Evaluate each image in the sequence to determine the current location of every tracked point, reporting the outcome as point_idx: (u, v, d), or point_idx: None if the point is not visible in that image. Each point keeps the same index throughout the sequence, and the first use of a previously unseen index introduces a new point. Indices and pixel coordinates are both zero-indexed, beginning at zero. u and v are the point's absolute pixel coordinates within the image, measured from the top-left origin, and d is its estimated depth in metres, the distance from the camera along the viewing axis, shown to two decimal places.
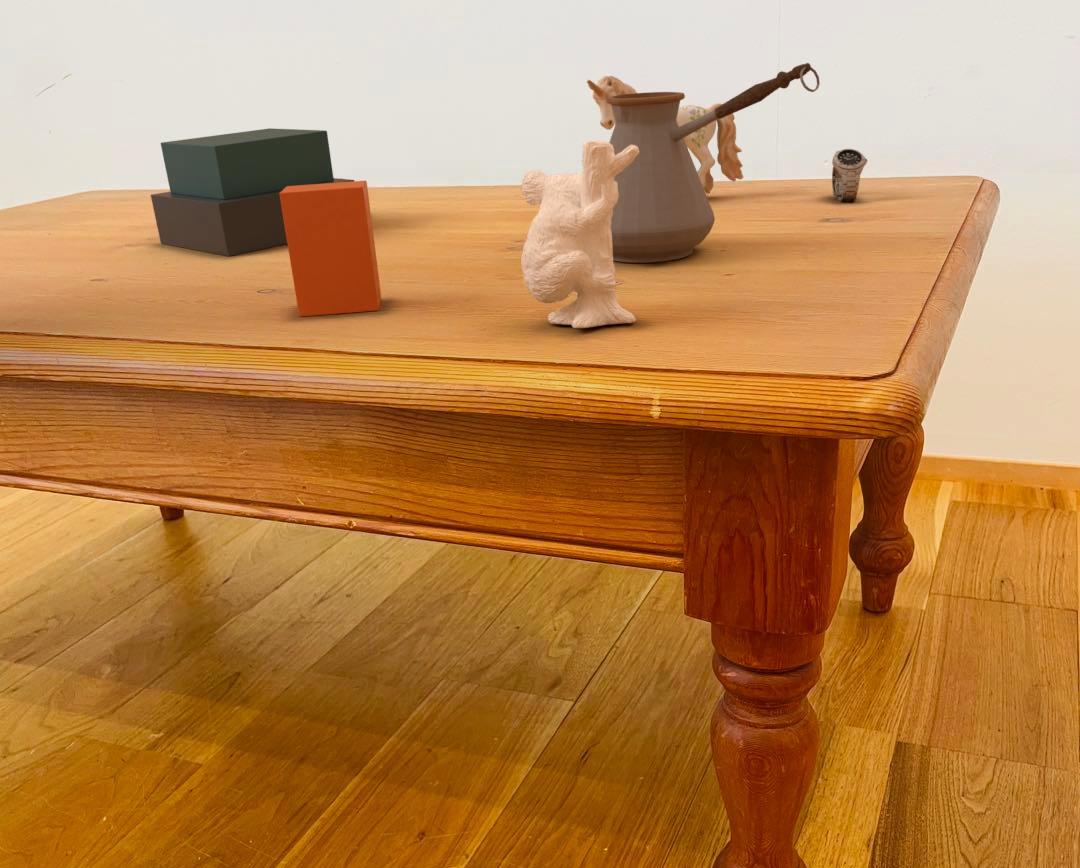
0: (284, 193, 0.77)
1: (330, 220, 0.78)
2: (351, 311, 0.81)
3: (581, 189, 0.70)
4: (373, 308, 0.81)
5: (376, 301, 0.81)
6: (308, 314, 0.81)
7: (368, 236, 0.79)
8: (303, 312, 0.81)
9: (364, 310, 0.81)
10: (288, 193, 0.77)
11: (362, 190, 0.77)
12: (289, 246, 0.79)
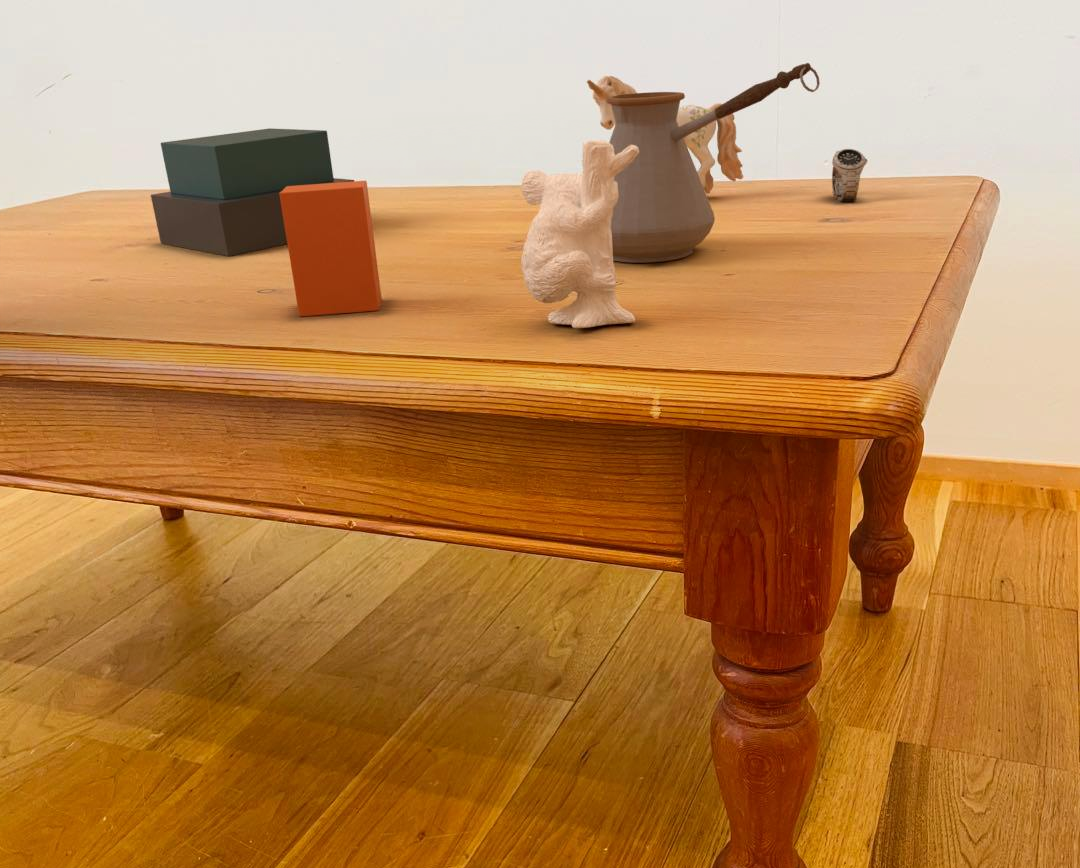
0: (284, 193, 0.77)
1: (330, 220, 0.78)
2: (351, 311, 0.81)
3: (581, 189, 0.70)
4: (373, 308, 0.81)
5: (376, 301, 0.81)
6: (308, 314, 0.81)
7: (368, 236, 0.79)
8: (303, 312, 0.81)
9: (364, 310, 0.81)
10: (288, 193, 0.77)
11: (362, 190, 0.77)
12: (289, 246, 0.79)
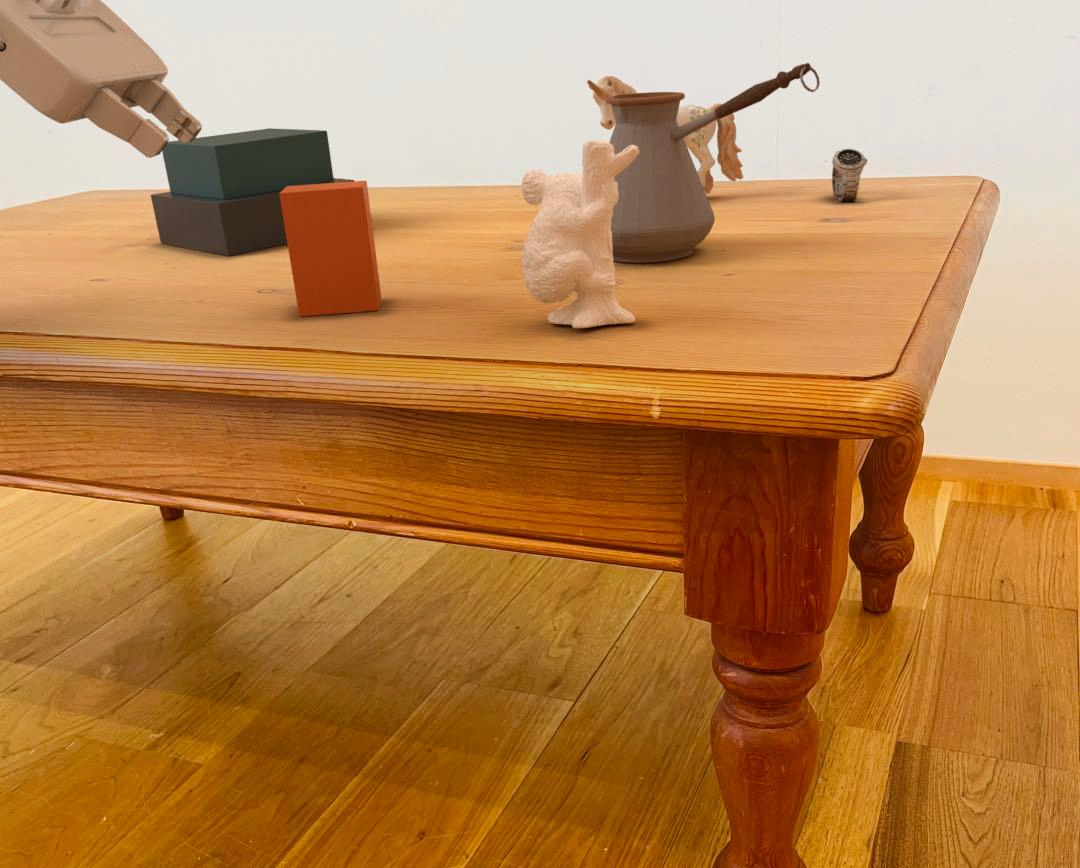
0: (284, 193, 0.77)
1: (330, 220, 0.78)
2: (351, 311, 0.81)
3: (581, 189, 0.70)
4: (373, 308, 0.81)
5: (376, 301, 0.81)
6: (308, 314, 0.81)
7: (368, 236, 0.79)
8: (303, 312, 0.81)
9: (364, 310, 0.81)
10: (288, 193, 0.77)
11: (362, 190, 0.77)
12: (289, 246, 0.79)
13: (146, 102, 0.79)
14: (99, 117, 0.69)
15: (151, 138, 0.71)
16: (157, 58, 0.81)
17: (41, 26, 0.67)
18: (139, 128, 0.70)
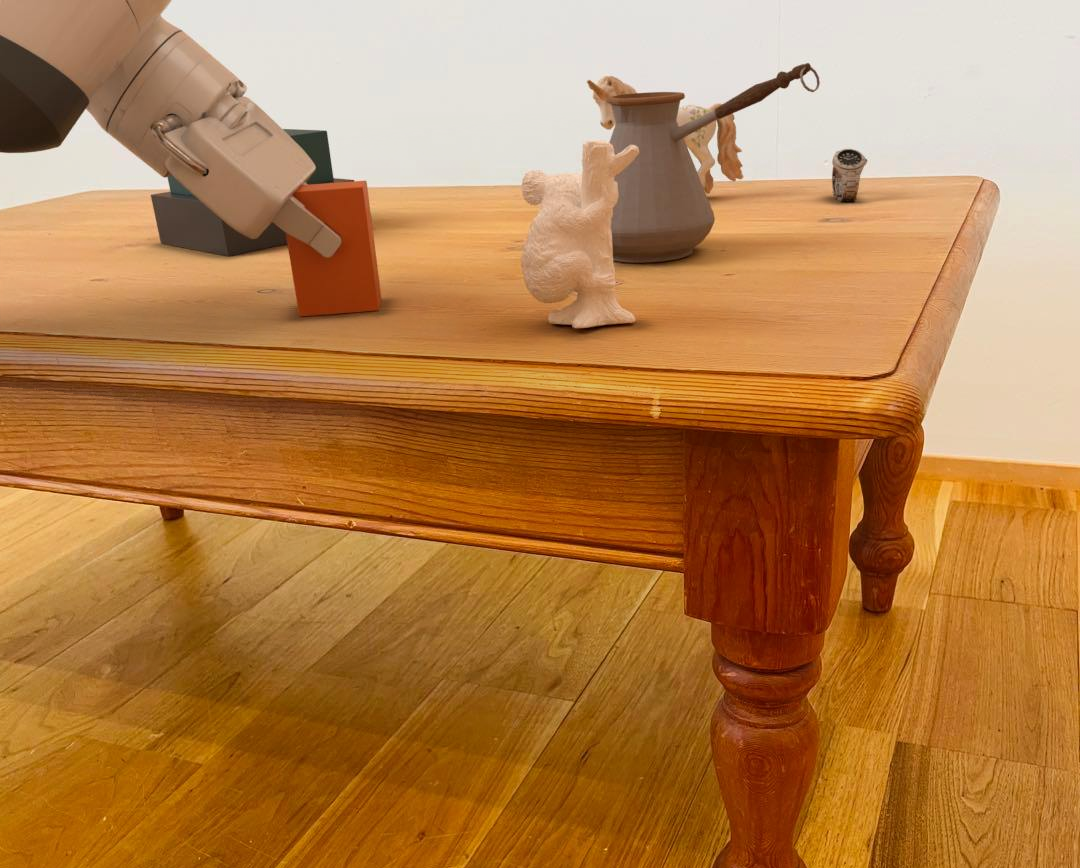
0: None
1: (330, 220, 0.78)
2: (351, 311, 0.81)
3: (581, 189, 0.70)
4: (373, 308, 0.81)
5: (376, 301, 0.81)
6: (308, 314, 0.81)
7: (368, 236, 0.79)
8: (303, 312, 0.81)
9: (364, 310, 0.81)
10: None
11: (362, 190, 0.77)
12: (289, 246, 0.79)
13: None
14: (286, 224, 0.76)
15: (330, 240, 0.77)
16: (307, 157, 0.86)
17: (231, 147, 0.72)
18: (320, 232, 0.77)
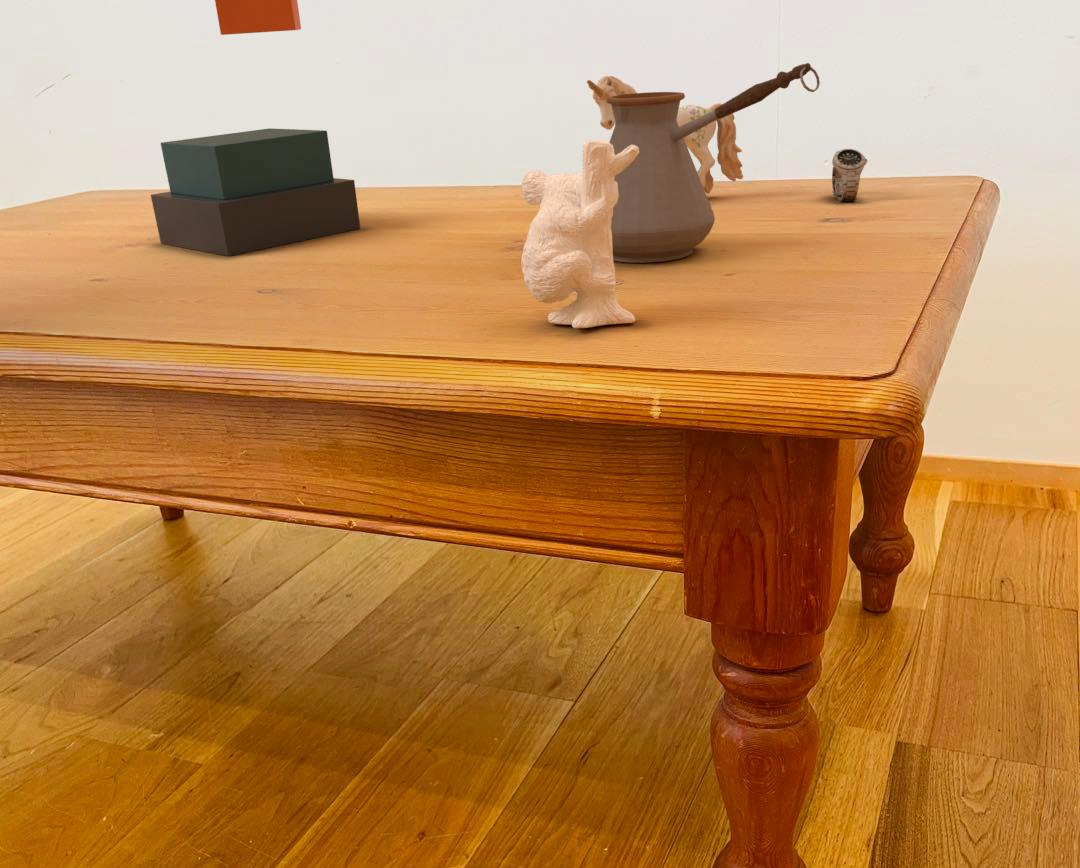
0: None
1: None
2: (269, 30, 0.86)
3: (581, 189, 0.70)
4: (290, 27, 0.86)
5: (293, 20, 0.86)
6: (229, 32, 0.86)
7: None
8: (224, 30, 0.86)
9: (282, 29, 0.87)
10: None
11: None
12: None
13: None
14: None
15: None
16: None
17: None
18: None
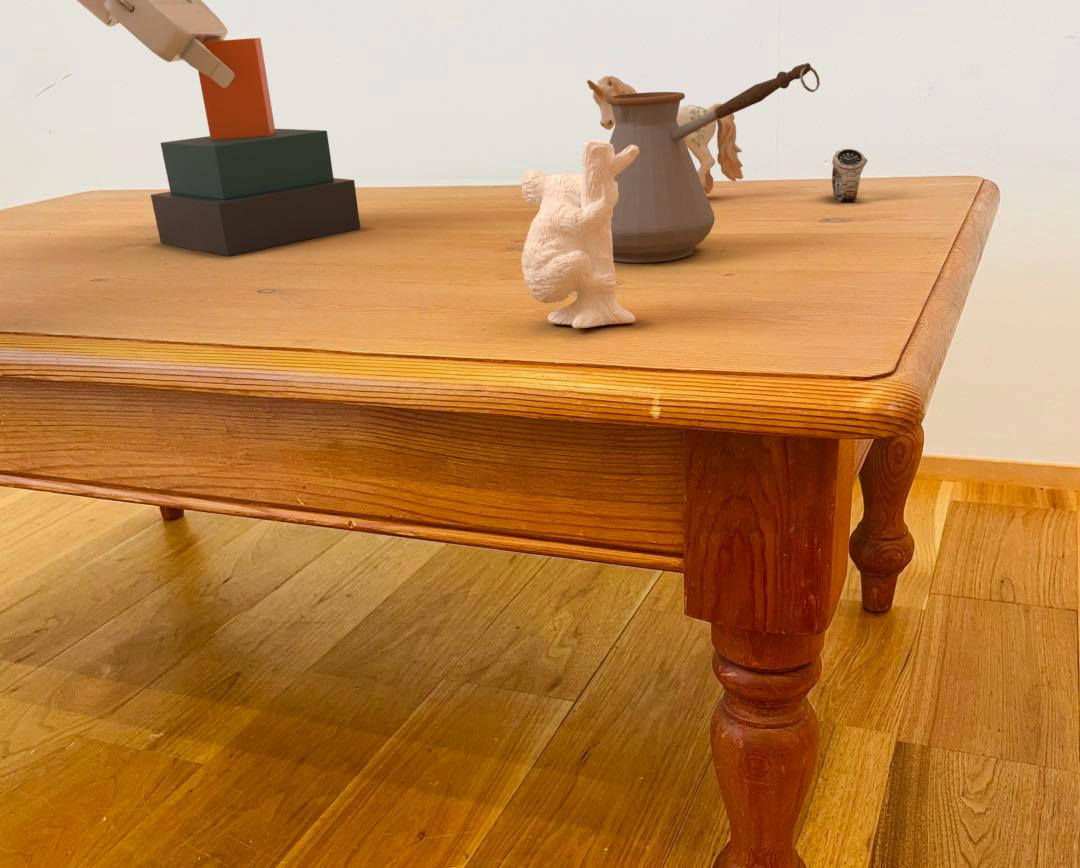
0: None
1: (231, 64, 1.06)
2: (249, 136, 1.09)
3: (581, 189, 0.70)
4: (266, 134, 1.09)
5: (268, 128, 1.08)
6: (217, 138, 1.09)
7: (260, 77, 1.06)
8: (213, 136, 1.08)
9: (259, 135, 1.09)
10: None
11: (254, 41, 1.05)
12: (201, 84, 1.06)
13: None
14: (191, 59, 1.01)
15: (225, 74, 1.03)
16: (220, 22, 1.13)
17: None
18: (217, 67, 1.02)
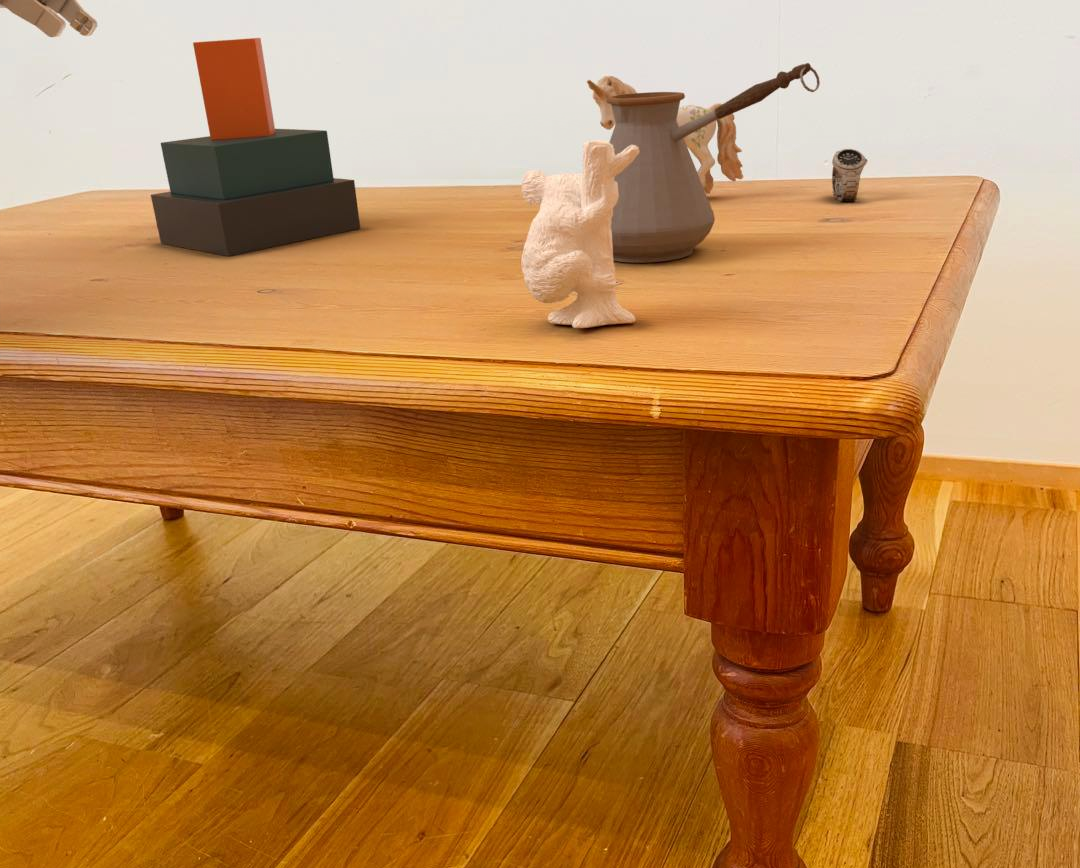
0: (196, 42, 1.05)
1: (231, 64, 1.06)
2: (249, 136, 1.09)
3: (581, 189, 0.70)
4: (266, 134, 1.09)
5: (268, 128, 1.08)
6: (217, 138, 1.09)
7: (260, 77, 1.06)
8: (213, 136, 1.08)
9: (259, 135, 1.09)
10: (199, 42, 1.05)
11: (254, 41, 1.05)
12: (201, 84, 1.06)
13: (54, 5, 1.07)
14: (12, 5, 0.96)
15: (51, 22, 0.98)
16: None
17: None
18: (42, 15, 0.98)
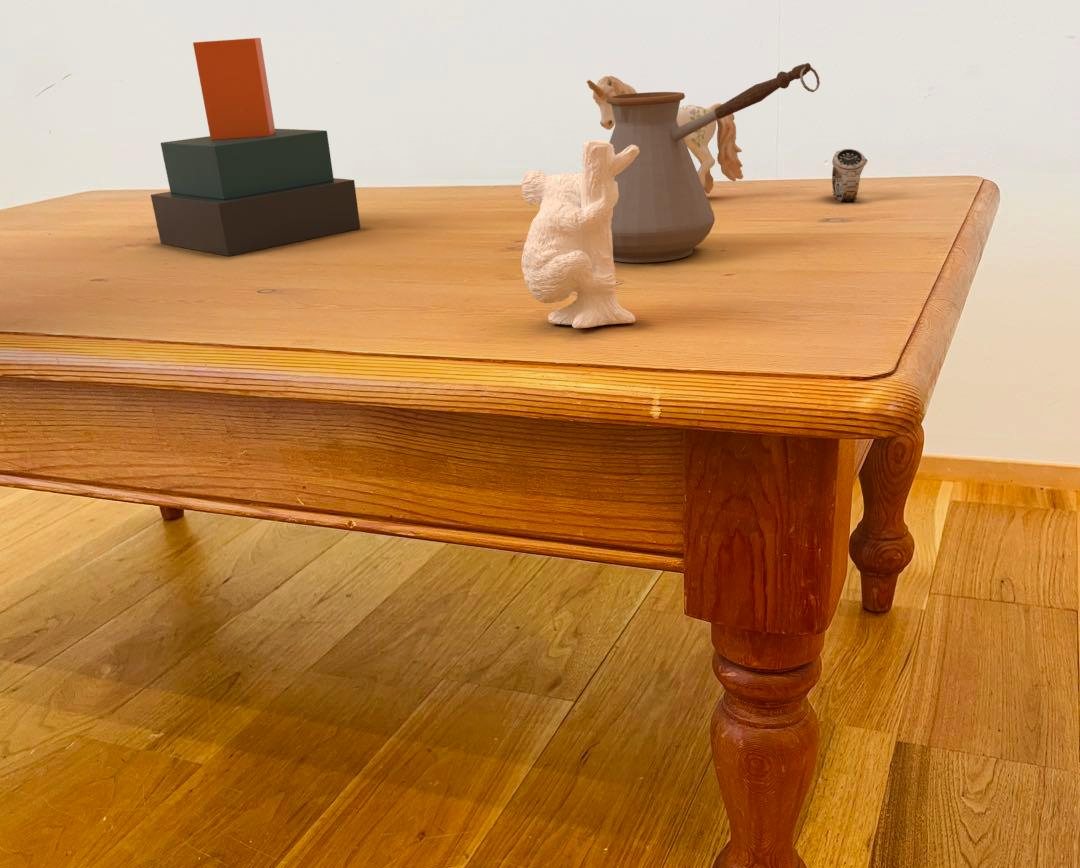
0: (196, 42, 1.05)
1: (231, 64, 1.06)
2: (249, 136, 1.09)
3: (581, 189, 0.70)
4: (266, 134, 1.09)
5: (268, 128, 1.08)
6: (217, 138, 1.09)
7: (260, 77, 1.06)
8: (213, 136, 1.08)
9: (259, 135, 1.09)
10: (199, 42, 1.05)
11: (254, 41, 1.05)
12: (201, 84, 1.06)
13: None
14: None
15: None
16: None
17: None
18: None
